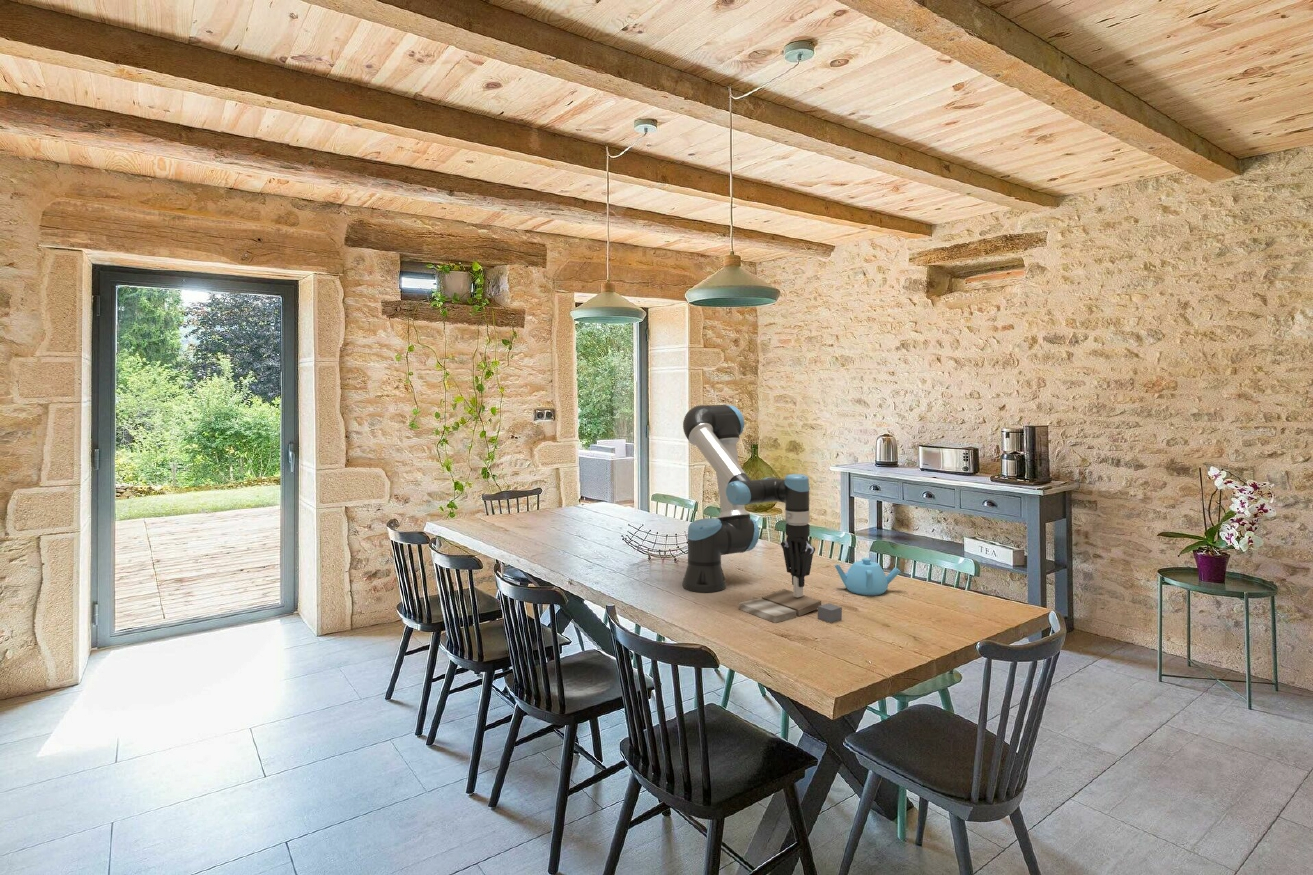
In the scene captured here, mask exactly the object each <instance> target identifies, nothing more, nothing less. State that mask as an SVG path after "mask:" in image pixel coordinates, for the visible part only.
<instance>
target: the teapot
mask: <svg viewBox="0 0 1313 875" xmlns="http://www.w3.org/2000/svg"><path fill="white" fill-rule="evenodd" d="M871 560H872V559H871V558H868V557H863V558H861V560H858V561H855V562H854V561H853V563H852V564H851V565H850V567H849V568H848V570H847V572H846V573H845V572H844V570H843V569H842V568H841V565H840V564H834V567H835V569H836V571H837V573H838V575H839V577H840V579H841V582H843V584H844V586H845V589H847V590H848V591H849V592H850V593H853V594H854V595H855V594H856V595H861V596H880V595H883V594H884V593H885V592H886V591H887V590H888V587H889V584H890V583H891V582H892V581H893V580H894V579H895V578H896V577H897V576H898V575H899V574H900V573H901V572H902V571H901V570H900V569H899V568H898V567H896V566H894V568H893V569H892V570H891V571H890V572H889V573H888V574H887V575H886V574H885V571H884V570H883V568H882V566H881V565H880V563H878V562H875V561H871Z"/></svg>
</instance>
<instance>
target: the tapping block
mask: <svg viewBox="0 0 1313 875" xmlns="http://www.w3.org/2000/svg"><path fill="white" fill-rule="evenodd" d="M842 615H843V607H842V606H840V605H839V606H838V605H837V604H832V603H829V602H828V603H824V604H821V605H820V606H818V609H817V619H818V620H820V621H823V622H826V623H830V624H833V623H836V622H841V621H842V620H843V619H842V618H843V616H842Z"/></svg>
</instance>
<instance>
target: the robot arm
mask: <svg viewBox="0 0 1313 875" xmlns="http://www.w3.org/2000/svg"><path fill="white" fill-rule="evenodd" d="M744 428H745V419H744V416H743V413H742V412H741V411H740V409H738V408H737V407H736V406H735V405H731V404H730V405H729V404H711V405H707V404H706V405H705V404H704V405H703V404H701V405H699V404H698V405H696V406H693V407H692V408H691V409H690V410H688V411H687V413H686V414H685V416H684V418H683V421H682V430H683V433H684V435H685V438H686V439H687V440H688V442H689V443H690V444H691V445H692V446H696V448H697V449H698V450H699V452H700V453H701V454H702V455H703V457H704V458H705V460H706V461H707V462H708V463H709V464H710V466H711V467H712V469H713V470H714V472H715V474H716V481H717V490H718V495H719V496H718V497H719V504H720V514H719V515H718V516H717V518H714V517H713V518H712V517H709V518H699V519H697V520H693V521H692V522H691V523H690V524H688V529H687V565H686V566H687V567H686V570H685V572H684V576H683V580H682V587H683V588H684V589H685V590H688V591H691V592H696V593H715V592H720V591H724V589H726V587H727V581H726V578H725V574H724V571H723V567H722V556H724V555H725V556H726V555H733V554H743V553H746V552H750V551H752V550H754V548H755V547H756V546H757V544H758V542H759V539H760V538H759V537H760V530H759V524H757V521H755V520H754V519H753V518H751V514H750V512H748V511H747V510H746V506H745V505H753V504H760V503H772V502H779V503H783V504H785V505H784V506H785V507H784V508H785V509H784V510H785V511H784V513H785V522H786V524H785V535H786V536H787V537H786V539H785V541H781V542H780V546H781V548H782V551H783V552H782V553H783V558H784V563H785V568H786V572H787V573H788V574H790V575H791V583H792V584H791V585H792V586H793V590H792V592H793V596H794V597H801V596H803V595H804V587H805V577H807V576H810V574H811V567H812V561H813V558H814V557H813V556H814V553H815V552H816V547H815V546H813V547H812V546H811V544H810V541H809V536H810V535H811V534H810V533H811V532H810V527H811V526H810V524H809V523H810V522H811V521H810V481H809V476H808V475H805V474H803V473H802V474H797V473H796V474H795V473H794V474H793V473H792V474H787V475H785V477H784V478H777V477H775V476H773V477H769V476H768V477H767V476H766V477H764V478H762V479H751V478H750V477H749V476H748V475H747V473H746V472H745V471H744V469H743V468H742V467H741V465H740V463H739V456H738V455H739V454H738V449H737V444H738V442H739V441H740V436H741V434H743V432H744Z"/></svg>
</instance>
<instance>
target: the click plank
mask: <svg viewBox="0 0 1313 875" xmlns="http://www.w3.org/2000/svg"><path fill="white" fill-rule="evenodd" d="M761 599H764V600H767V601H770V602H773V603H775V604H778V605H781V606H784V607H787V608H790V609H792V610H795V611H796V617H797V616H798V617H801V616H803V615H805V614H808V613H810V612H812V611H815V610H818V606H820V605H822V600H820V599H816V598H813V597H810V596H808V595H804V594H803V596H801V597H794V596H793V590H789V589H786V588H782V589H780V590H777V591H775V592H773V593H770V594H767V595H765V596H762V598H761Z"/></svg>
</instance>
